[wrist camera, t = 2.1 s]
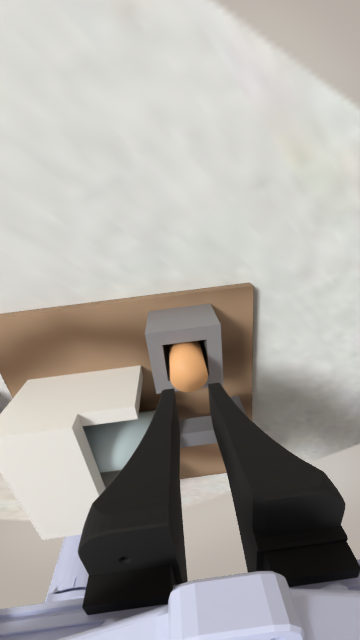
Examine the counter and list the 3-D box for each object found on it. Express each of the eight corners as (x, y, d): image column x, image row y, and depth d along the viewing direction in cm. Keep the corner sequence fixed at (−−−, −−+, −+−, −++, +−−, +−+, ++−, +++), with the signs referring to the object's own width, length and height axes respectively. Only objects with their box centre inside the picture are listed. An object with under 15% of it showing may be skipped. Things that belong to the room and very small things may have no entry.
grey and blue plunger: (236, 426, 25) (259, 495, 19) (71, 447, 25) (41, 525, 19) (235, 387, 23) (261, 450, 17) (56, 410, 23) (16, 483, 17)
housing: (219, 449, 27) (234, 513, 21) (68, 469, 27) (42, 539, 21) (210, 303, 20) (228, 340, 14) (5, 329, 20) (-60, 377, 14)
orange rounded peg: (200, 356, 20) (209, 389, 16) (170, 360, 20) (172, 394, 16) (198, 329, 19) (206, 358, 15) (166, 333, 19) (167, 363, 15)
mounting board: (248, 461, 29) (251, 469, 28) (64, 486, 29) (61, 495, 28) (249, 282, 20) (253, 286, 19) (-18, 316, 20) (-26, 321, 19)
